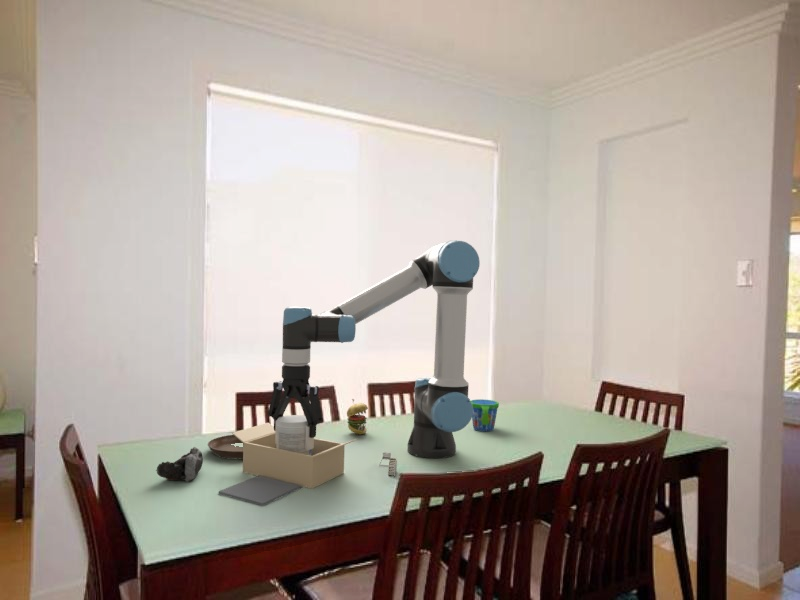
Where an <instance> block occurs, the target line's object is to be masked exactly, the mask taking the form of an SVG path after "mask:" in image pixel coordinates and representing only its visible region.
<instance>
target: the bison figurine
mask: <svg viewBox="0 0 800 600" xmlns="http://www.w3.org/2000/svg"><path fill="white" fill-rule="evenodd" d="M203 456H204V455H203V452H202V451H201V450H200V449H198V448H197V447H196V446H193V447H192V448H190V450H189V452H187V453H186V454H183V455H182V456H181V457H180V458H178V459H177V460H175V461H174V462H171V461H168V460H167V461H166V462H164V461H162V462H161V463H159V464H158V465H157V467H156V470H155V471H156V474H157V475H158V476H159V477H161V478H164V479H166V480H169V481H180V480H185V482H186V483H187V482H190V481H192V480H193V479H195V478H196V477H197V476H198V474H199V472H200V470H201V469H202V467H203V462H204V458H203Z"/></svg>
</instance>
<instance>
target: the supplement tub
mask: <svg viewBox="0 0 800 600" xmlns="http://www.w3.org/2000/svg"><path fill="white" fill-rule="evenodd" d="M307 425H308V422H307V420H306V417H305V414H303V415H302V414H293V415H292V414H291V415H290V414H289V415H283V417H280V418H278V419H277V438H276V448H277V449H281V450H286V451H291V452H296V453H301V454H306V455H310V456H312V449H310V450H308V451H307V450H305V435H306V426H307Z"/></svg>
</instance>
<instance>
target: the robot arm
mask: <svg viewBox="0 0 800 600" xmlns="http://www.w3.org/2000/svg"><path fill="white" fill-rule="evenodd" d="M480 265H481V264H480V257H479V254H478V251H477V250H476V249H475V247H474V246H473V245H471V244H470V243H468V242H467V241H463V240H449V241H446V242H444V243H443V242H442V243H438V244H436V245H434V246H432V247H430V248H429V249H428V250H426V251H425V252H424V253H422V254H421V255H419V256H418V257H416V258H414V259H412V260H411V261H410V262H409V264H408V266H407V267H405V268H403V269H401V270H399V271H398V272H396V273H394V274H392V275H390V276H389V277H387V278H384V279H383V280H381V281H380V282H378V283H376V284H374V285H372V286H370V287H369V288H366V289H365V290H363V291H362V292H360V293H358V294H356V295H355V296H352V297H351V298H349V299H347V300H345V301H344V302H342V303H340V304H338V305H337V306H335V307H333V308H332V309H329V310H327V311H323V312H321V313H320V314H314V313H313V312H312V309H311V307H309V306H287V307H286V308H284V310H283V317H282V318H283V319H282V350H281V351H282V353H281V362H282V364H283V365H282V366H281V378H282V381H281V380H279V381H278V380H277V381H275V382H273V384H272V386H273V387H272V394H271V395H272V396H271V399H270V403H269V408H268V411H267V416H268V417H271V418H272V419H273V427H274V431H275V444H276V438H277V419H278V418H280V417H283V416H284V414H285V412H286V410H287V407H288V405H289V403H290V402H291V400H292V399H295V400H297V401H298V403H299V404H300V406H301V409H302V411H303V415H304V416H305V417H306V420H307V422H308V425H307V426H306V435H305V450H307V451H308V450H310V449H313V448H314V438H315V437H316V436H317V425H319V424H322V423H323V422H324V419H323V413H322V408H321V402H320V398H319V389H320V387H319V386H318V385H311V384H310V383H309V380H310V378H311V365H310V364H309V363H311V345H312V343H341V344H343V343H352V342H353V341H354V340H355V338H356V332H357V331H356V330H357V329H356V326H357V325H356V324H358V323H361V322H362V321H364V320H366V319H367V318H370V317H371V316H373V315H375V314H376V313H378V312H380V311H382V310H384V309H386V308H387V307H390V306H392V305H393V304H394V303H396V302H398V301H400V300H401V299H403V298H405V297H406V296H409V295H410V294H413V292H416V291H417V290H419V289H425V290H426V289H428V288H430V287H431V286H432V289H433V290H434V291H435V292H436V294H437V296H436V297H437V298H436V318H435V340H434V341H435V342H434V362H433V363H434V365H433V367H434V368H433V376H432V377H426V378H423V377H422V378H418V379H416V380H415V383H414V384H415V385H414V388H413V390H414V403H413V404H414V405H413V406H414V408H413V427H412V430H411V433H410V436H409V438H408V442H407V453H409V454H411V455H412V456H415V457H419V458H427V459H444V458H443V457H445V458H449V456H450V457H452V455H453V456H455V455H456V453H457V446H456V440H455V438H454V437H455V436H454V434H453V433H456V432H459V431H461V430H463V429H464V428H465V427H467V426H468V424H469V423H470V422H471V421H472V415H473V406H472V403H471V399H470V398H469V382H468V380H466V379H465V377H464V376H465V375H464V374H465V373H464V371H465V357H466V356H465V355H466V354H465V351H466V350H465V349H466V334H467V333H466V332H467V331H466V330H467V328H466V327H467V305H468V295H469V293H470V292H472V290H474V277H476V275H477V273H478V272H479V269H480Z"/></svg>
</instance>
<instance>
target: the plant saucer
mask: <svg viewBox="0 0 800 600" xmlns="http://www.w3.org/2000/svg"><path fill="white" fill-rule="evenodd" d="M235 443H243V442H242V441H240V440H239V439H238V438H237V437H236V436H234V435H233V434H229V435H224V436H218V437H215V438H213V439H211V440H210V441H208V443H207V446H208V449H209V450H210V451H211V452H212V453H213V454H214V455H215V456H217V457H219V456H220V458H222V457H223V458H222V459H228V458H229V460H243V447H239V446H236V447H235V446H234V445H231V444H235Z"/></svg>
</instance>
